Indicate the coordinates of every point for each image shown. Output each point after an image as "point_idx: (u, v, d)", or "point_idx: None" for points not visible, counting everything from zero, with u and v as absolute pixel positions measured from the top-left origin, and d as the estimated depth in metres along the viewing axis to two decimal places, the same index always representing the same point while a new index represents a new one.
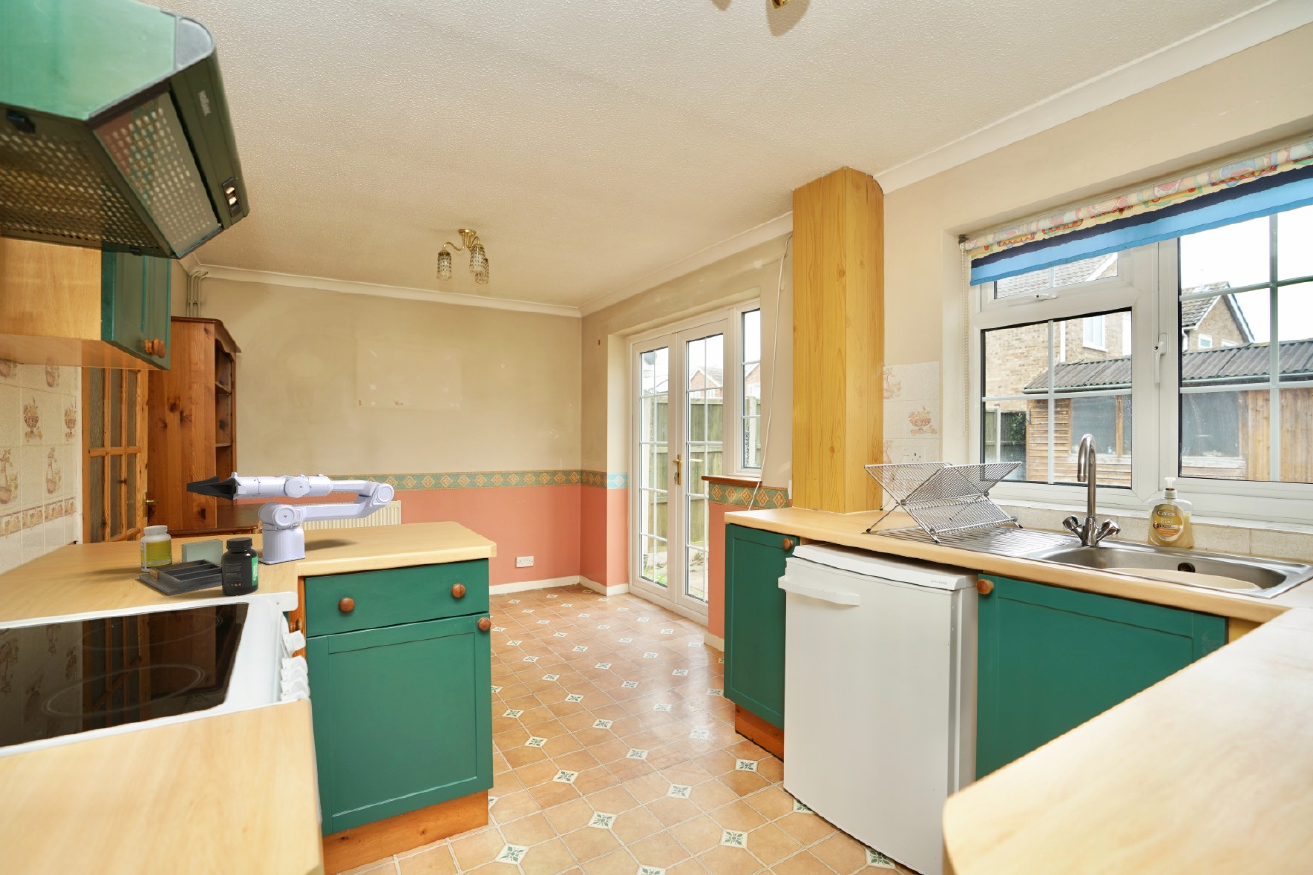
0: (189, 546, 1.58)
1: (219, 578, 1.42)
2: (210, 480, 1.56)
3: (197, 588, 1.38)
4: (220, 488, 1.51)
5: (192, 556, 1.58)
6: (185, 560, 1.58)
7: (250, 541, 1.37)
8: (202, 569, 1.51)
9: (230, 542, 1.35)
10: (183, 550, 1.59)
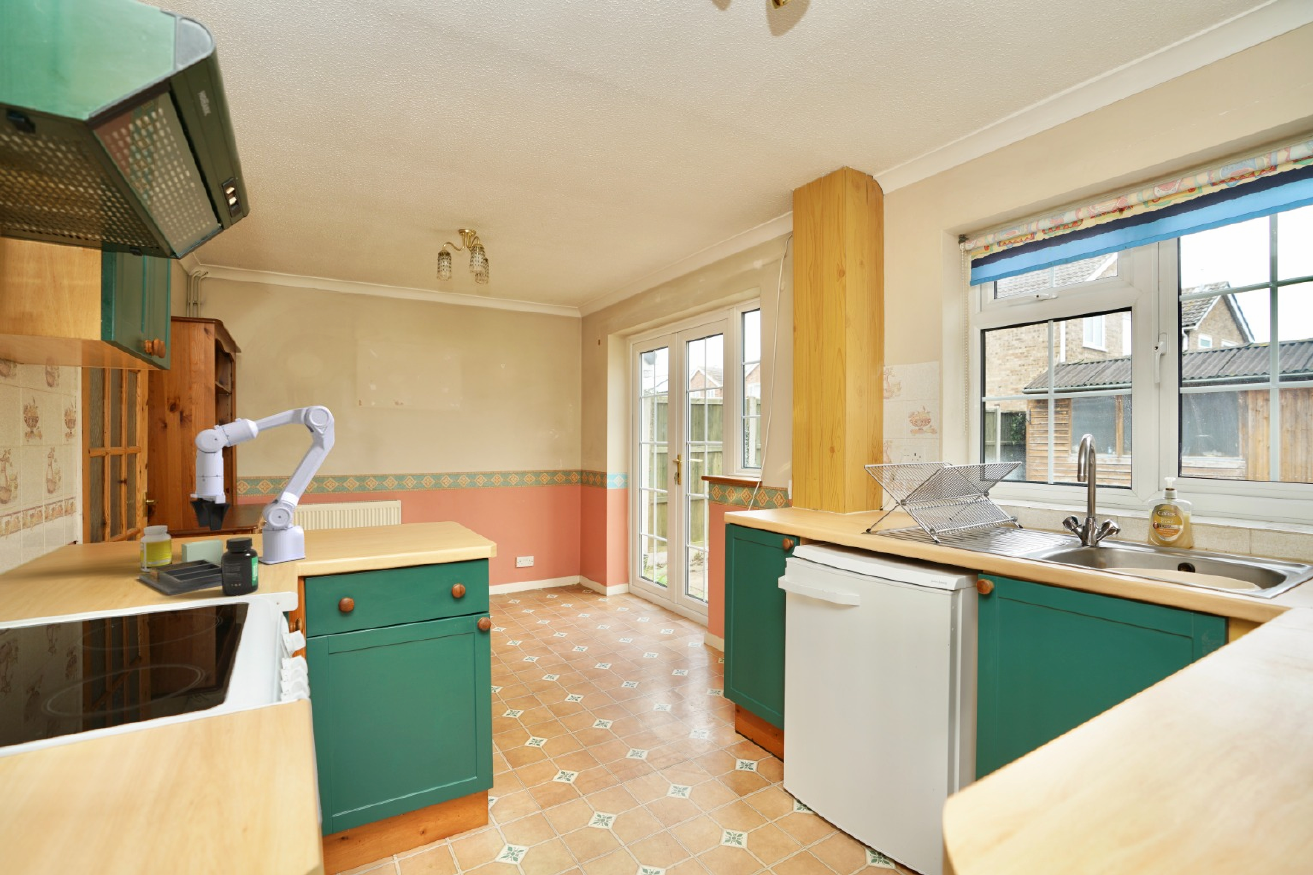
0: (189, 546, 1.58)
1: (219, 578, 1.42)
2: (197, 509, 1.58)
3: (197, 588, 1.38)
4: (215, 513, 1.54)
5: (192, 556, 1.58)
6: (185, 560, 1.58)
7: (250, 541, 1.37)
8: (202, 569, 1.51)
9: (230, 542, 1.35)
10: (183, 550, 1.59)
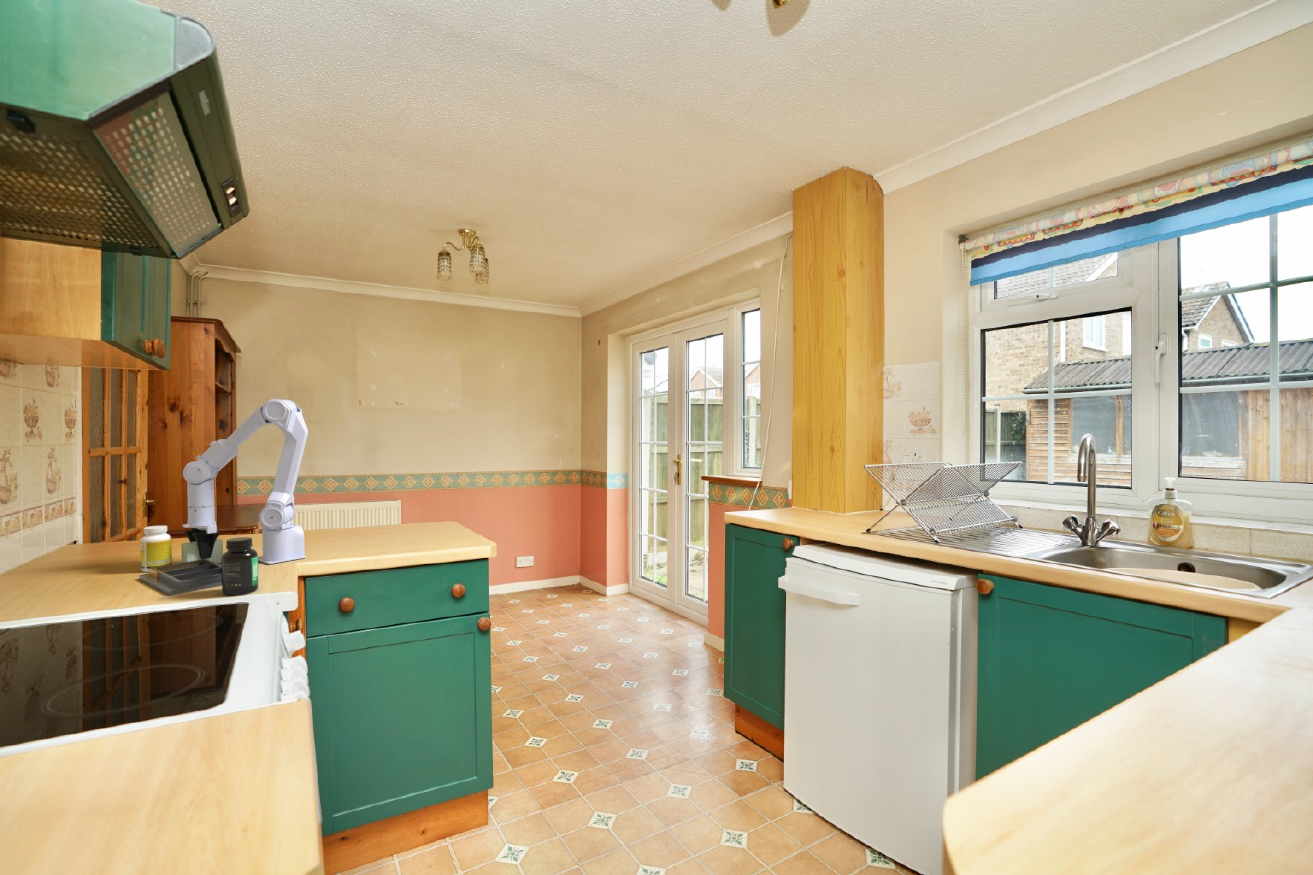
0: (189, 546, 1.58)
1: (219, 578, 1.42)
2: (191, 538, 1.61)
3: (197, 588, 1.38)
4: (205, 541, 1.60)
5: (192, 556, 1.58)
6: (185, 560, 1.58)
7: (250, 541, 1.37)
8: (202, 569, 1.51)
9: (230, 542, 1.35)
10: (183, 550, 1.59)
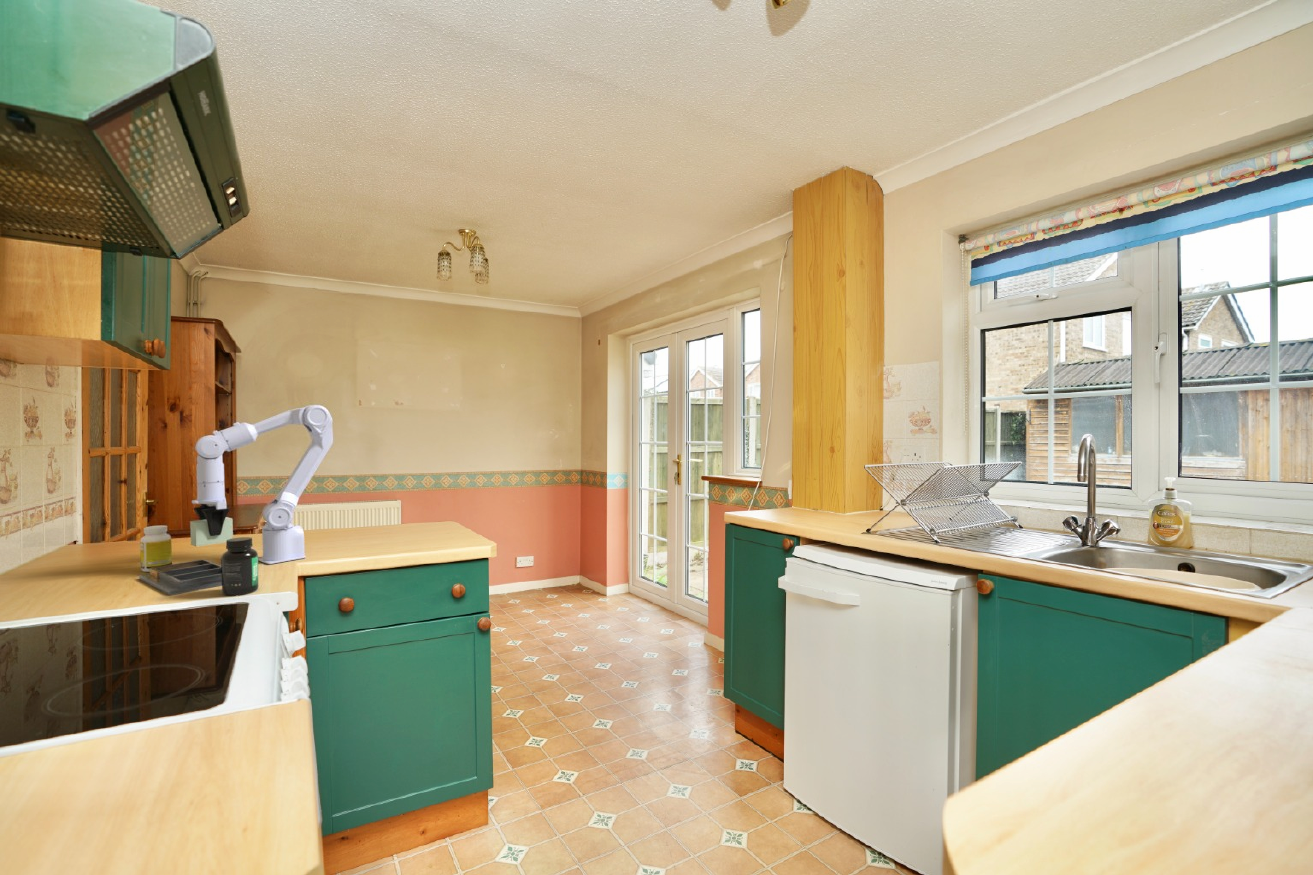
0: (198, 523, 1.53)
1: (219, 578, 1.42)
2: (201, 515, 1.57)
3: (197, 588, 1.38)
4: (214, 518, 1.55)
5: (201, 533, 1.54)
6: (194, 538, 1.54)
7: (250, 541, 1.37)
8: (202, 569, 1.51)
9: (230, 542, 1.35)
10: (192, 527, 1.54)
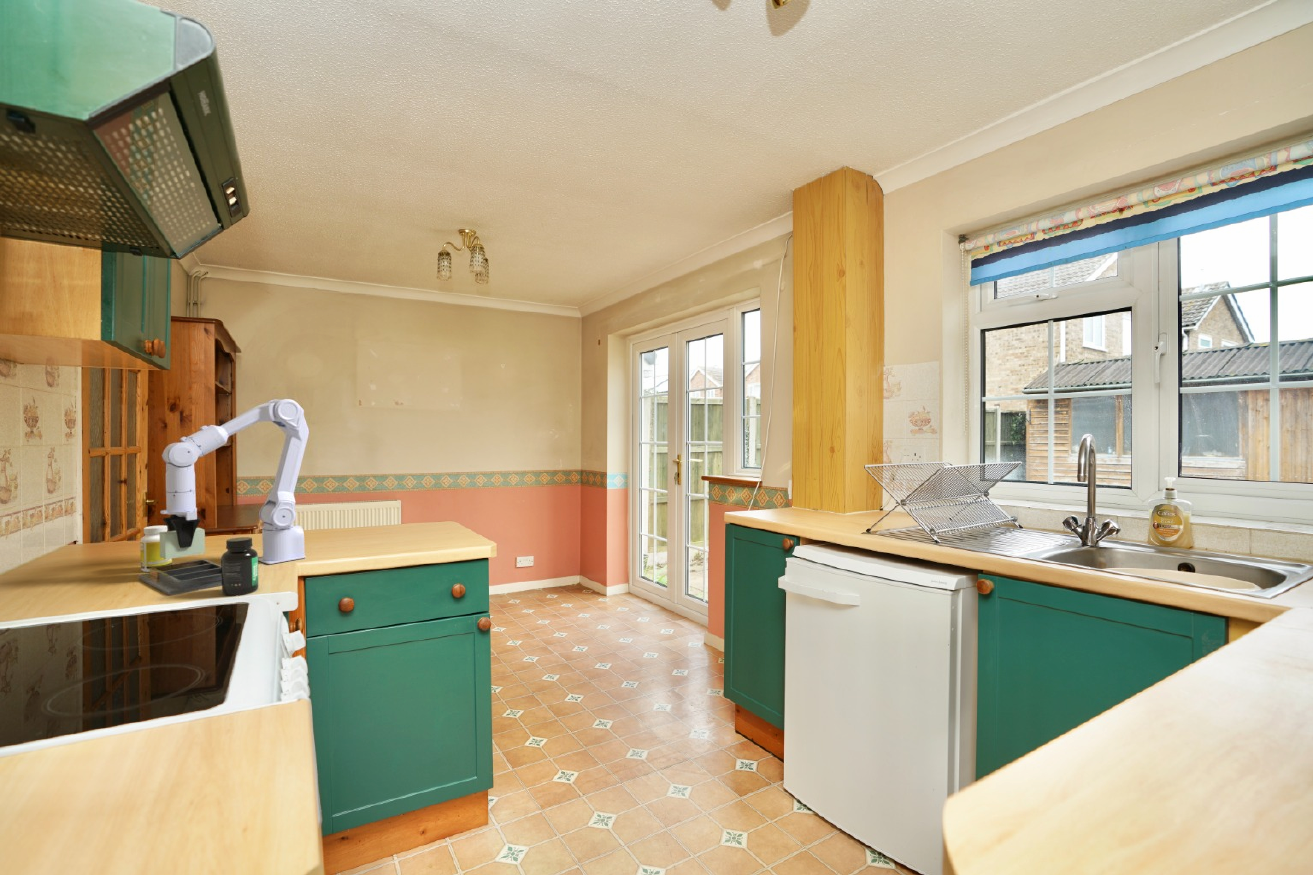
0: (168, 535, 1.46)
1: (219, 578, 1.42)
2: (170, 526, 1.50)
3: (197, 588, 1.38)
4: (184, 529, 1.48)
5: (171, 545, 1.47)
6: (163, 550, 1.47)
7: (250, 541, 1.37)
8: (202, 569, 1.51)
9: (230, 542, 1.35)
10: (161, 539, 1.47)
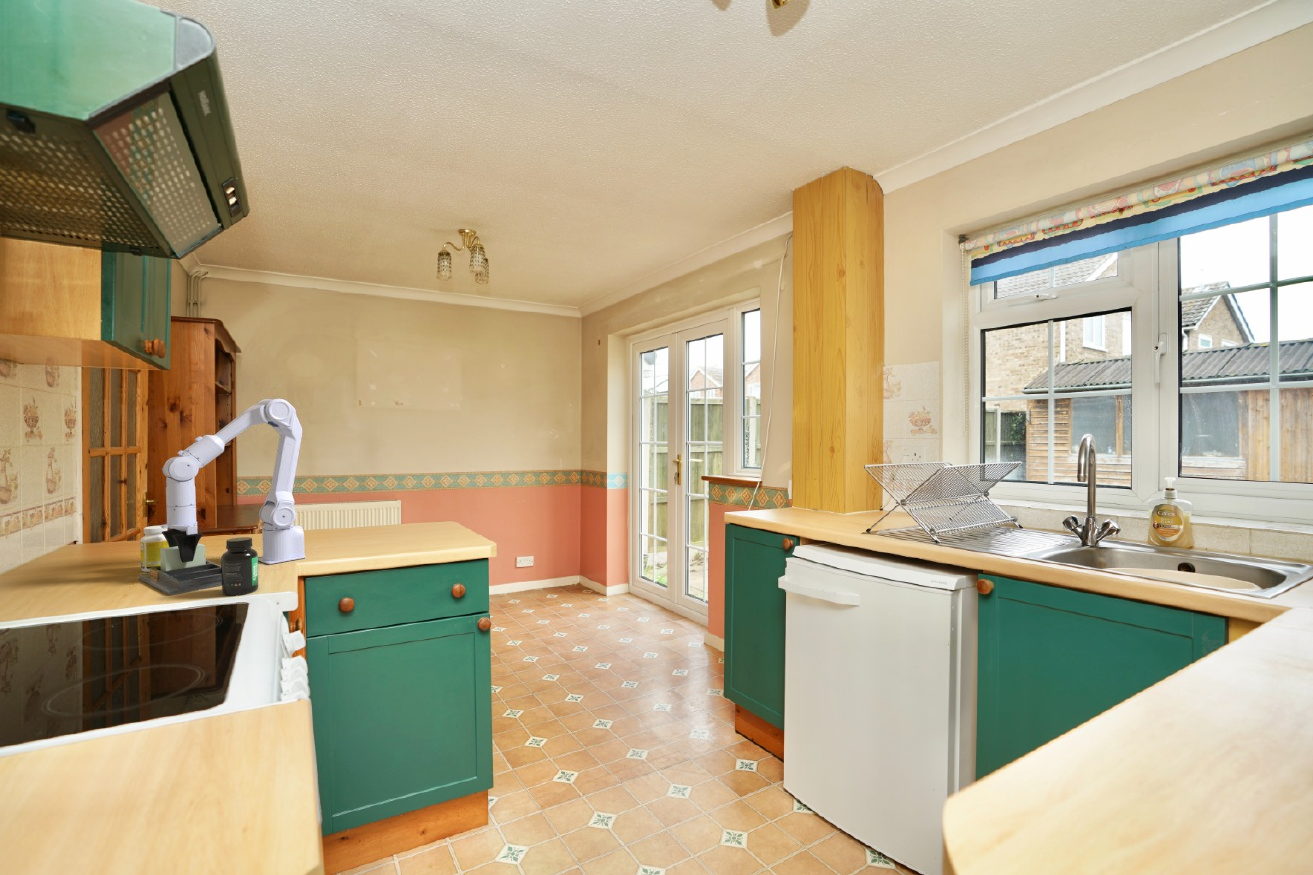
0: (168, 551, 1.46)
1: (219, 578, 1.42)
2: (169, 539, 1.51)
3: (197, 588, 1.38)
4: (186, 543, 1.48)
5: (171, 562, 1.47)
6: (164, 566, 1.47)
7: (250, 541, 1.37)
8: (202, 569, 1.51)
9: (230, 542, 1.35)
10: (162, 555, 1.47)
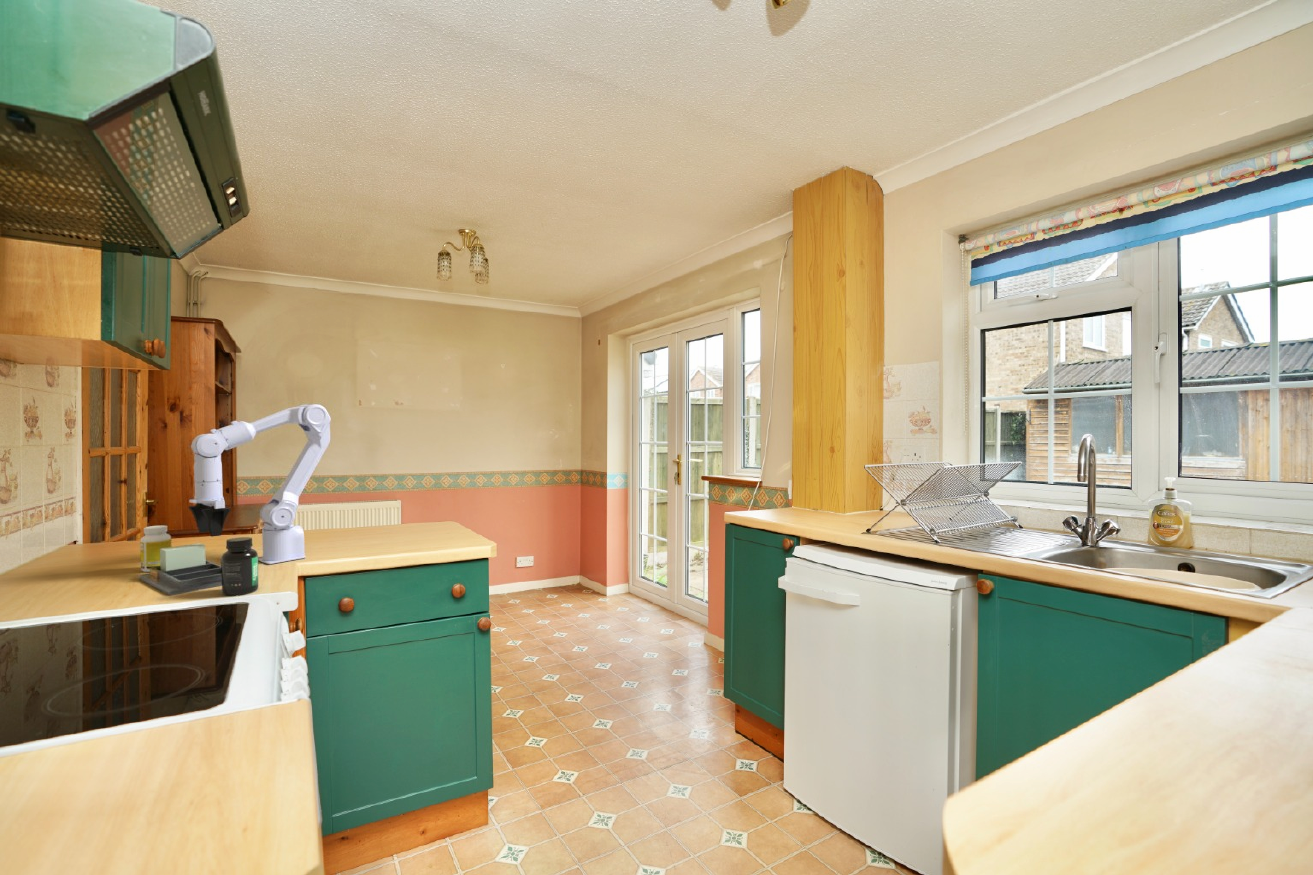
0: (168, 551, 1.46)
1: (219, 578, 1.42)
2: (196, 514, 1.56)
3: (197, 588, 1.38)
4: (214, 518, 1.52)
5: (171, 562, 1.47)
6: (164, 566, 1.47)
7: (250, 541, 1.37)
8: (202, 569, 1.51)
9: (230, 542, 1.35)
10: (162, 555, 1.47)
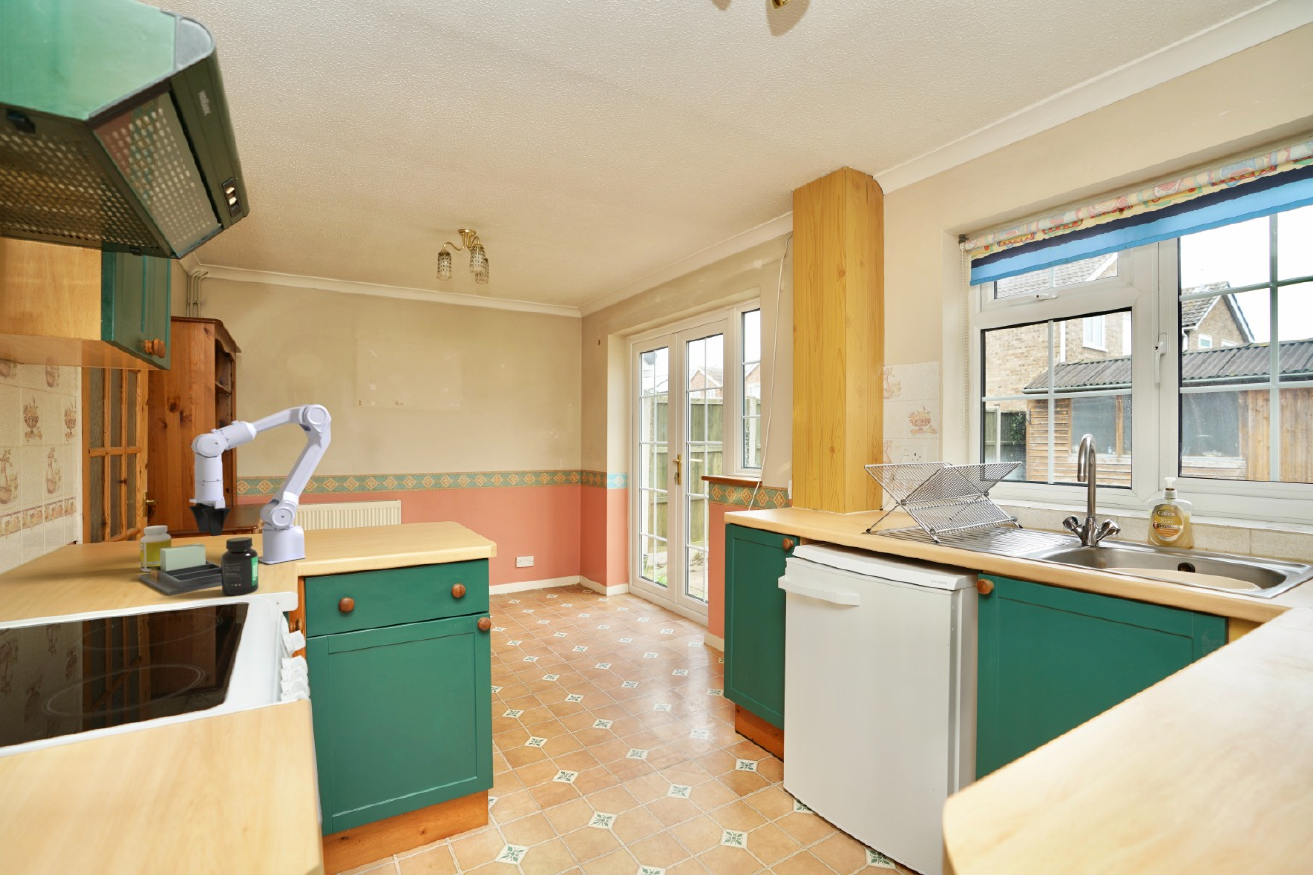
0: (168, 551, 1.46)
1: (219, 578, 1.42)
2: (196, 514, 1.56)
3: (197, 588, 1.38)
4: (215, 518, 1.52)
5: (171, 562, 1.47)
6: (164, 566, 1.47)
7: (250, 541, 1.37)
8: (202, 569, 1.51)
9: (230, 542, 1.35)
10: (162, 555, 1.47)
